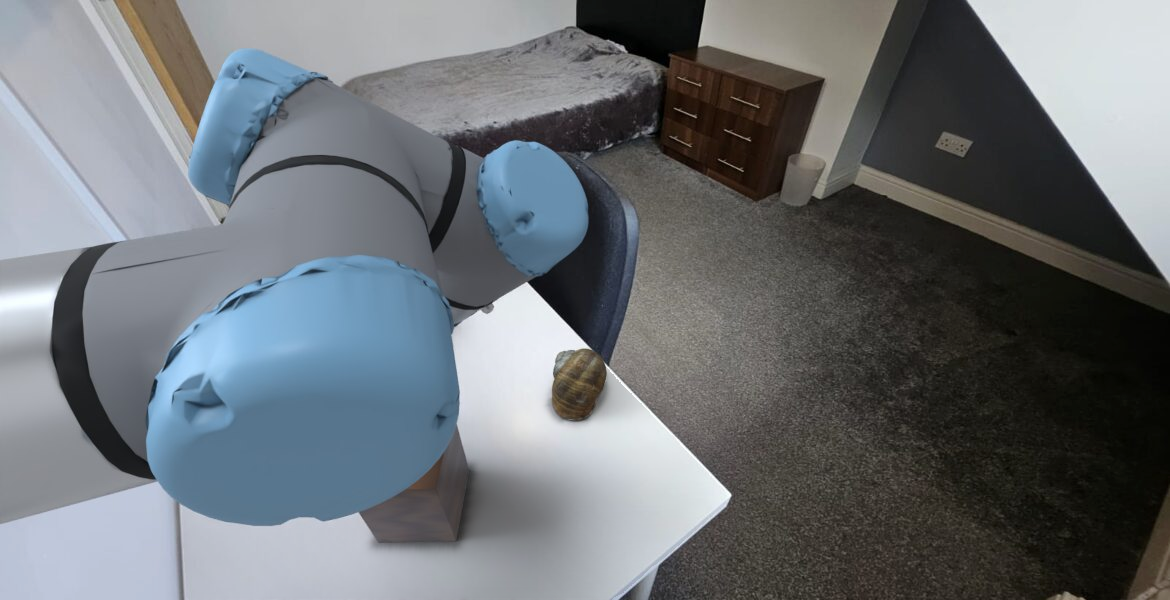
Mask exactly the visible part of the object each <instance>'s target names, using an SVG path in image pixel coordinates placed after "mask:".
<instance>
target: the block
mask: <svg viewBox="0 0 1170 600" xmlns="http://www.w3.org/2000/svg"><path fill="white" fill-rule="evenodd" d="M467 459H468V458H467V456H466V452H465V450H464V445H463V442H462V438H461V434H460V430H459V427H458V424H456V428H455V432H454V434H453V436H452V439H451V441H450V443H449V445H448V446H447V448H446V450H445V451H444V453H443V454H442V456H441V457H440V459H439V460H438V461H437V462H436V463H435V464H434V465H433V467H432V468H431V469H430V470H429V471H428V472H427V473H426V474H425V475H423V476H422V477H421V478H420V479H419V480H418V481H416V482H415V483H414V484H412V485H411V486H410V487H408V488H407V489H405V490H404V491H402V492H400V493H399V494H397V495H395V496H394V497H392V498H390V499H388V500H386V501H384V502H382V503H380V504H378V505H375V506H373V507H371V508H368V509H366V510H363V511H360V512H358V515H360V517H361V518H362V520H363V522H364V523H365V525H366V527H367V528H368V530H369V531H370V532H371V534H372V535H373V537H374V538H375V540H376V542H377V543H418V542H419V543H420V542H421V543H422V542H424V543H425V542H426V543H427V542H430V543H432V542H457V539H458V534H459V530H460V529H459V528H460V522H461V517H462V511H463V507H464V502H465V497H466V490H467V484H468V478H469V473H470V467H469V464H468V460H467Z"/></svg>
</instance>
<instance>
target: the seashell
mask: <svg viewBox="0 0 1170 600" xmlns="http://www.w3.org/2000/svg"><path fill="white" fill-rule="evenodd" d="M607 374H608V373H607V366H606V363H605V361H604V359H603V358H602V357H601V356H600V354H599V353H597V352H596V351H595V350H593V349H590V348H586V347H585V348H579V349H576V350H575V349H568V350H562V351H560V352H558V353H557V354H556V357H555V360H554V366H553V369H552V376H553V381H552V386H551V405H552V408H553V409H554V411H555V413H556V414H557V415H558V416H559V417H561V418H563V419H564V420H571V421H580V420H583V419H585V418H587V417H588V416H589V415H591V414H592V412H593V411H594V409H595V407H596V403H597V400H598V398H599V397H600V395H601V394H602V392H603V390H604V388H605V385H606V382H607V377H608V376H607Z"/></svg>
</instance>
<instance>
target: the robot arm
mask: <svg viewBox="0 0 1170 600" xmlns="http://www.w3.org/2000/svg"><path fill="white" fill-rule="evenodd" d="M217 76H218V77H217V79H216V80H215V82H214V83H213V86H212V88H211V91H210V93H209V95H208V99H207V101H206V104H205V107H204V109H203V112H202V115H201V119H200V121H199V125H198V128H197V132H196V135H195V137H194V142H193V144H192V149H191V153H190V157H189V161H188V168H187V176H188V179H189V182H190V184H191V185H192V186H193V187H194V189H195V190H196V191H197V192H199V193H200V194H201V195H203V196H205V197H206V198H209V199H211V200H214V201H217V202H218V203H221V204H223V205H226V206H229V208H228V210H227V213H226V216H225V217H224V220H223V222H222V223H220V224H217V225H211V226H206V227H205V226H204V227H200V228H193V229H187V230H182V231H181V230H180V231H175V232H174V231H173V232H169V233H168V232H167V233H162V234H156V235H151V236H150V235H149V236H145V237H137V238H132V239H125V240H120V241H119V240H118V241H114V242H113V241H112V242H108V243H103V244H98V245H93V246H87V247H81V248H73V249H67V250H58V251H53V252H45V253H37V254H31V255H25V256H18V257H17V256H16V257H11V258H4V259H0V525H4V524H7V523H10V522H14V521H18V520H22V519H25V518H28V517H32V516H37V515H40V514H43V513H47V512H50V511H51V512H52V511H55V510H58V509H62V508H66V507H70V506H72V505H76V504H80V503H84V502H87V501H91V500H94V499H98V498H102V497H106V496H110V495H113V494H118V493H120V492H125V491H128V490H132V489H135V488H138V487H143V486H146V485H150V484H154V483H158V484H159V485H160V487H161V488H162V489H163V491H164V492H165V493H166V494H167V495H168V496H169V497H170V498H171V499H173V500H174V501H176V502H177V503H178V504H180V505H181V506H183V507H185V508H186V509H189V510H190V511H192V512H194V513H197V514H200V515H202V516H204V517H206V518H210V519H213V520H217V521H221V522H224V523H231V524H238V525H245V526H252V527H275V526H281V525H283V524H285V523H287V522H289V521H291V520H294V519H298V518H310V519H311V518H313V519H316V520H318V521H321V522H324V523H325V522H328V521H332V520H338V519H341V518H344V517H348V516H352V515H355V514H357V513H358V514H359V512H360V511H363V510H366V509H368V508H371V507H373V506H375V505H378V504H380V503H382V502H384V501H386V500H388V499H390V498H392V497H394V496H395V495H397V494H399V493H400V492H402V491H404V490H405V489H407V488H408V487H410V486H411V485H412V484H414V483H415V482H416V481H418V480H419V479H420V478H421V477H422V476H423V475H425V474H426V473H427V472H428V471H429V470H430V469H431V468H432V467H433V465H434V464H435V463H436V462H437V461H438V460H439V459H440V457H441V456H442V454H443V453H444V451H445V450H446V448H447V446H448V445H449V443H450V441H451V439H452V436H453V434H454V432H455V428H456V424H457V423H458V419H459V414H460V403H461V402H460V394H461V391H460V383H459V382H460V381H459V377H458V369H457V362H456V356H455V350H454V343H453V337H452V335H453V332H454V331H455V327H457V326H458V325H460V324H461V323H463V322H464V321H466V320H467V319H469V318H470V317H472V316H473V315H475V314H476V313H477V312H479V311H481V312H482V313H484V314H485V315H489V314H491V313H492V312H493V310H494V308H495V305H494V304H493V303H495V302H496V301H498V300H499V299H501V298H502V297H505V296H506V295H508V294H510V293H511V292H513V291H514V290H516V289H518V288H519V287H521V286H523V285H524V284H526V283H528V282H530V281H531V280H533V279H534V278H537V277H542V276H544V275H546V274H547V273H549V272H550V270H551V269H552V268H553V267H554V266H556V265H557V264H558V263H560V262H561V261H563V259H565V258H566V257H568V256H569V255H570V254H572V252H573V251H575V250H576V249H577V248H578V247H579V246H580V245H581V243H582V242H583V240H584V238H585V236H586V235H587V232H588V228H589V222H590V221H589V204H588V199H587V196H586V192H585V190H584V187H583V186H582V183H581V182H580V179H579V178H578V176H577V175H576V173H575V172H574V171H573V169H572V167H570V165H569V164H568V163H567V162H566V160H564V159H563V158H562V157H561V155H559V154H557V152H555V151H554V150H552V149H551V148H549V147H548V146H546V145H544V144H542V143H539V142H537V141H523V140H522V141H521V140H516V139H515V140H510V141H508V142H506V143H504V144H502V145H501V146H500V147H498V148H497V149H493V151H492V150H491V151H490V153H488V154H486V156H485V157H482V156H480V155H478V154H476V153H474V152H472V151H470V150H468V149H466V148H463V147H462V146H458V145H455V144H454V143H451V142H449V141H447V140H445V139H443V138H441V137H439V136H437V135H435V134H433V133H431V132H429V131H427V130H425V129H423V128H421V127H420V126H417V125H415V124H414V123H411V122H409V121H408V120H406V119H404V118H402V117H400V116H398V115H396V114H394V113H392V112H391V111H388V110H386V109H385V108H382V107H380V106H379V105H378V104H377V105H376V104H374V103H373V102H371V101H369V100H367V99H365V98H363V97H361V96H359V95H357V94H355V93H354V92H351V91H349V90H347V89H345V88H343V87H341V86H340V85H337V84H335V83H334V81H333V80H331V79H330V78H329V77H328V76H327V75H325V74H323V73H321V72H318V71H309V70H307V69H305V68H303V67H301V66H298V65H296V64H294V63H292V62H289V61H287V60H284V59H283V58H280V57H277V56H275V55H273V54H271V53H269V52H266V51H264V50H262V49H258V48H253V47H250V48H249V47H245V48H240V49H237V50H235V51H232V53H230V54H229V55H228V56H227V58H226V59H225V61H224V63H223V64H222V66H221V68H220V71H219V74H218V75H217ZM457 425H458V424H457Z"/></svg>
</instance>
